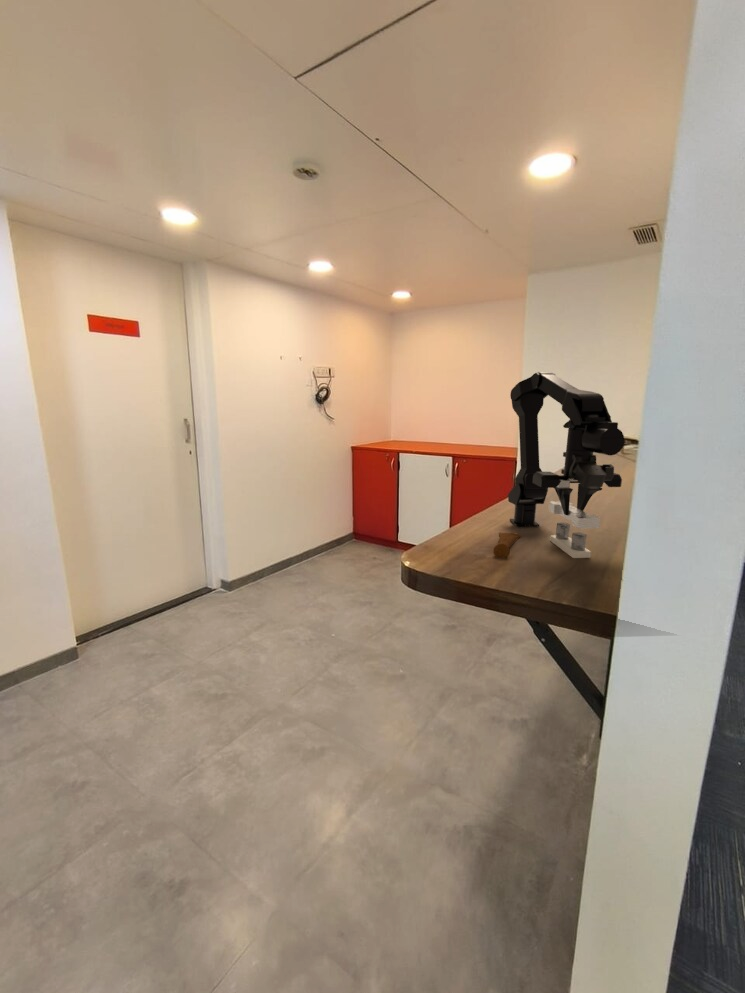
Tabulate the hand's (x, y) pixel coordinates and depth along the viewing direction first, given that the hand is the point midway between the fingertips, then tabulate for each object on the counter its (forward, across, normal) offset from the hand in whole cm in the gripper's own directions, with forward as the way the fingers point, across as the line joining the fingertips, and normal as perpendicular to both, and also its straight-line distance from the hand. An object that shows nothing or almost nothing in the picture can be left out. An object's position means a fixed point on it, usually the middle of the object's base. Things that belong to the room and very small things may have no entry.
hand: (572, 514), depth 105 cm
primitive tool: (+9, -14, +4) cm, 18 cm away
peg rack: (+8, 0, 0) cm, 9 cm away
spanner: (+1, 0, 0) cm, 1 cm away
